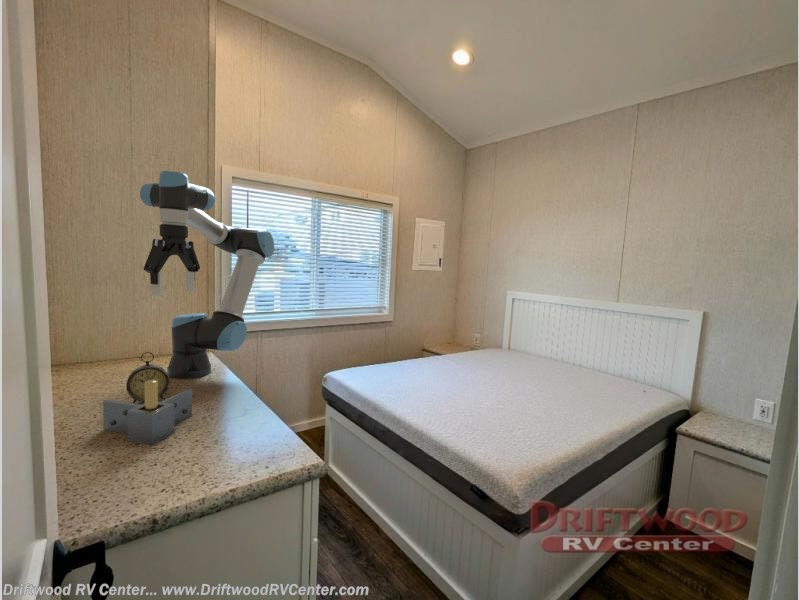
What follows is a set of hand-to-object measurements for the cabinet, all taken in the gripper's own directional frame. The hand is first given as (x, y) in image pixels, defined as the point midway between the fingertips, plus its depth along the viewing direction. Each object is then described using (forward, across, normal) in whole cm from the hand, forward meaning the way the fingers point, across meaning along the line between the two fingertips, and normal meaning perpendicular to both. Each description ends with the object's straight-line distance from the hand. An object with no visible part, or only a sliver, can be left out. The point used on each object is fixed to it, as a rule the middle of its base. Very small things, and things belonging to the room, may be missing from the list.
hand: (174, 293), depth 118 cm
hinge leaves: (+35, +17, +7) cm, 39 cm away
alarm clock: (+35, +4, -6) cm, 36 cm away
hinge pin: (+35, +22, +12) cm, 43 cm away
